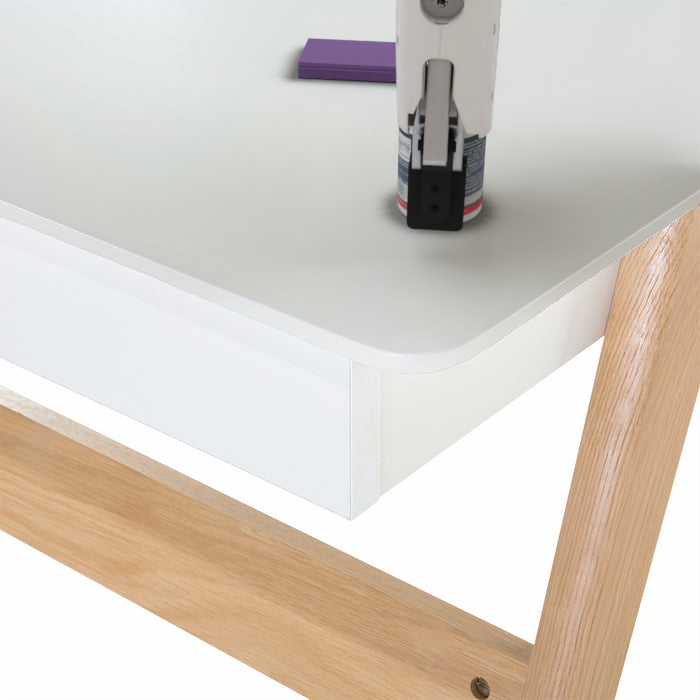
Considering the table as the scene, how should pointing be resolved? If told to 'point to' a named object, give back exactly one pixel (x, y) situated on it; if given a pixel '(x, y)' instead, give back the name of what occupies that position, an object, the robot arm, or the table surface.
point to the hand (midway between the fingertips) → (435, 223)
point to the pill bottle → (474, 173)
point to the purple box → (348, 60)
